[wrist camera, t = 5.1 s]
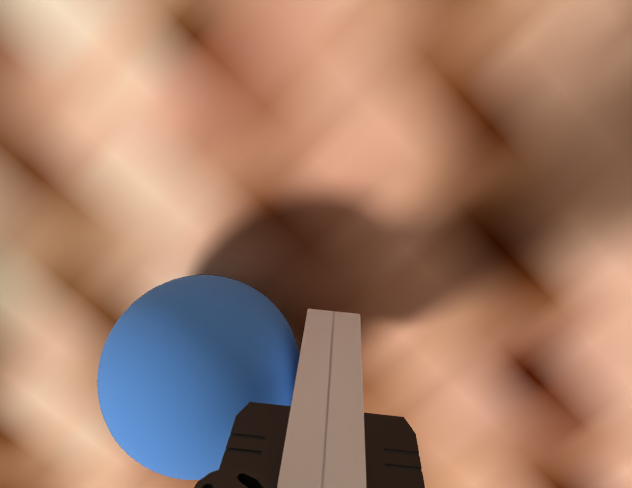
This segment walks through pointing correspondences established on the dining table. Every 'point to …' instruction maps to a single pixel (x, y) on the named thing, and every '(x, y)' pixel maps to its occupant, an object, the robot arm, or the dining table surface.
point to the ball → (192, 371)
